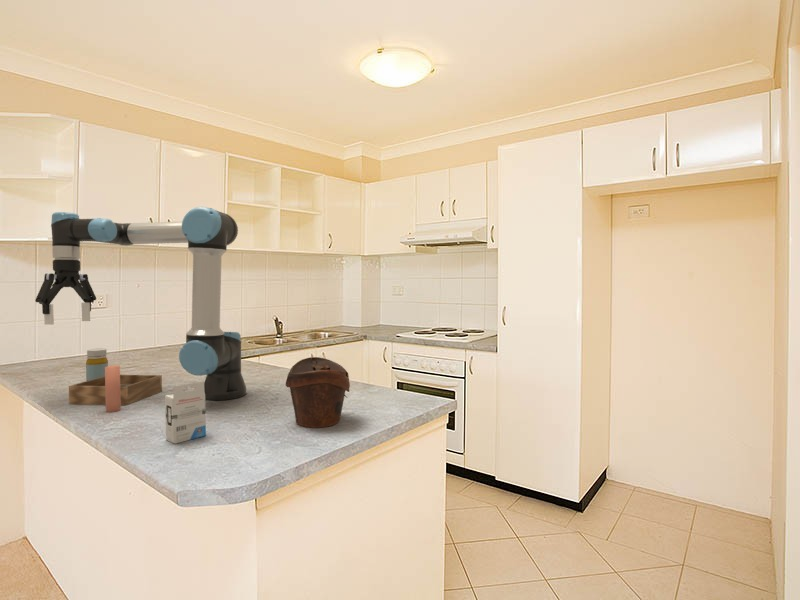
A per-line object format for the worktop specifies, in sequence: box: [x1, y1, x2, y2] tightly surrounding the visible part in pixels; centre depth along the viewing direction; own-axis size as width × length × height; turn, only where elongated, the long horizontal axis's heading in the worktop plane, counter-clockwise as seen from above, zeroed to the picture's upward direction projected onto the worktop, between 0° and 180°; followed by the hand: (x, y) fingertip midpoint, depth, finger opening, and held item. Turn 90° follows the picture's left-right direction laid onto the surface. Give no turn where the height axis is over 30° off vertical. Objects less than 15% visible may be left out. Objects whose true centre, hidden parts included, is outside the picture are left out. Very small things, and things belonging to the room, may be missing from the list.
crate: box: [68, 374, 163, 406], centre depth 162 cm, size 20×20×6 cm
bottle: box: [85, 347, 109, 381], centre depth 175 cm, size 7×7×15 cm
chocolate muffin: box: [285, 356, 351, 429], centre depth 134 cm, size 18×20×18 cm
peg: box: [105, 364, 122, 413], centre depth 145 cm, size 4×4×14 cm
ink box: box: [164, 380, 207, 444], centre depth 120 cm, size 8×5×15 cm, turn 140°
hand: (68, 322), depth 154 cm, fingers open, 13 cm apart
